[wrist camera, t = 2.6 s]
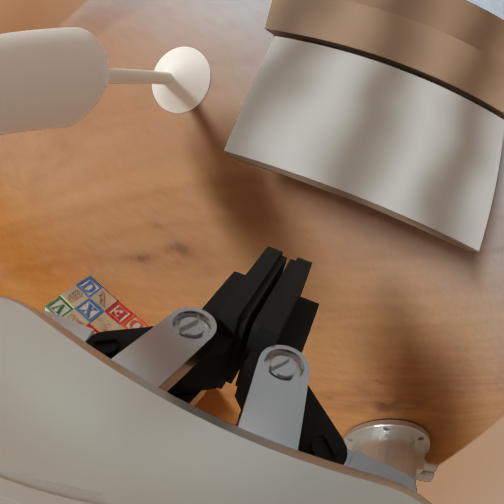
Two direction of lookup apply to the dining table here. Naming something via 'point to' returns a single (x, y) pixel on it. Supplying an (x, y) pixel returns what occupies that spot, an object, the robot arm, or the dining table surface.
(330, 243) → the dining table surface
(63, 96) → the champagne flute
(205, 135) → the dining table surface
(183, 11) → the dining table surface
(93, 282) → the stack of blocks
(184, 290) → the dining table surface
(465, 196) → the grey plank
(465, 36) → the walnut floor strip
